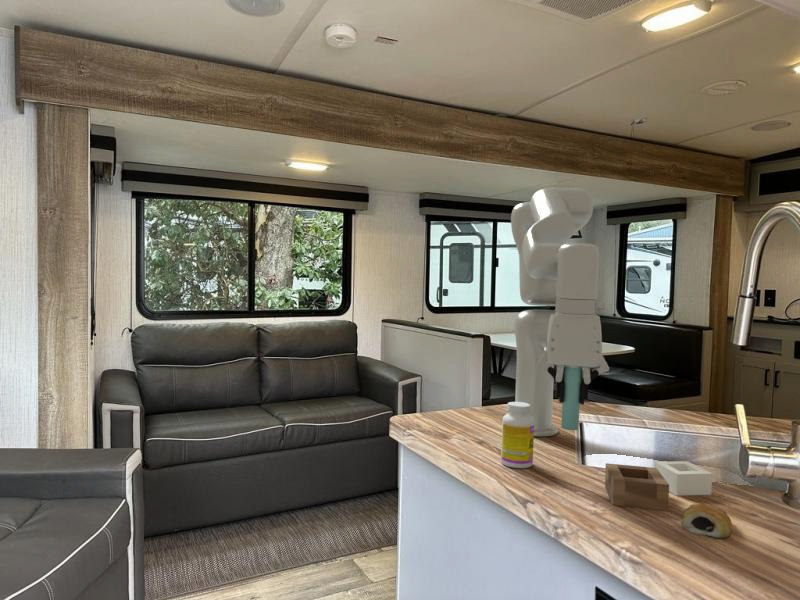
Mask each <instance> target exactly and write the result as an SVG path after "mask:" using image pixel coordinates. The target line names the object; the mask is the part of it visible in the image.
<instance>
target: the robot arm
mask: <svg viewBox="0 0 800 600" xmlns="http://www.w3.org/2000/svg"><path fill="white" fill-rule="evenodd" d="M593 211H594V201H593V198H592V195H591V194H590V192H589V191H588V190H586V189H584V188H581V187H545V188H542V189H539V190H537V191H536V192H535V193H534V194H533V195H532V197H531V199H530V201H526V202H521V203H518V204H516V205H515V206H514V207H513V209H512V211H511V216H510V224H511V233H512V236H513V240H514V243H515V246H516V250H517V253H518V257H519V258H518V261H519V263H518V265H519V273H518V274H519V276H518V277H519V294H520V295H519V296H520V298H521V301H522V302H523V303H524V304H526V305H529V306H537V307H538V306H539V307H555V309H554V310H553V309H552V310H551V309H527V310H523V311H520V312H519V313H518V314H517V315H516V317H515V319H514V336H515V344H516V345H515V346H516V373H515V398H514V399H515V400H514V402H523V403H528V404H530V411H529V416H531V417H532V418H533V420H534V437H551V436H554V435H556V434H558V432H559V428H558V426H556V425H555V424H553V408H554V407H553V403H554V380H555V381H556V382H555V398H558V401H559V403H560V404H562V403H563V402H564V367H580V368H582V369H581V385H580V405H585V400H588V398H589V384H590V383H591V382H593V381H594V380H595V379H596V378H597V377H599V376H600V375H602V374H605V373H607V372H609V371H610V367H609V365H608V362H607V361H606V359H605V357H604V355H603V342H602V341H603V336H602V323H601V317H600V315H597V314H598V312H601V311H605V309H606V305H605V303H603V302H600V301H598V289H599V288H598V287H599V285H598V283H599V270H600V269H599V267H600V264H599V263H600V250H599V248H598V246H597V245H596V244H593V243H566V242H568V241H569V240H570V239H571V238H572V236H573V235H574V234H576V233H578V232H579V231H581V229H582V228H584V227H585V226H586V224H588V222H590V220H591V218H592V215H593ZM590 369H591V370H590Z"/></svg>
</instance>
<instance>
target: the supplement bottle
mask: <svg viewBox="0 0 800 600" xmlns="http://www.w3.org/2000/svg"><path fill="white" fill-rule="evenodd" d="M506 408H507V411H508V412H507V413H506V414H505V415H503V417H502V421H501V423H502V424H501V446H500V447H501V448H500V449H501V450H500V451H501V452H500V462H501V463H502V464H503V465H504V466H507V467H508V468H509V467H510V468H513V469H527V468H530V467H532V466H533V461H534V441H535V440H534V439H535V438H534V437H535V436H534V420H533V418H532V417H531V416H529V411H530V404H528V403H523V402H515V401H509V402H507V407H506Z"/></svg>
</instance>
